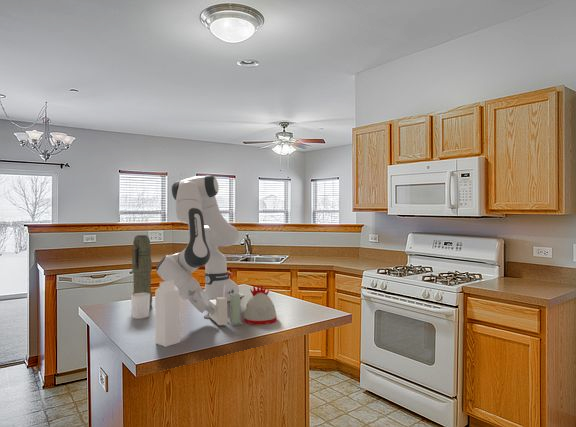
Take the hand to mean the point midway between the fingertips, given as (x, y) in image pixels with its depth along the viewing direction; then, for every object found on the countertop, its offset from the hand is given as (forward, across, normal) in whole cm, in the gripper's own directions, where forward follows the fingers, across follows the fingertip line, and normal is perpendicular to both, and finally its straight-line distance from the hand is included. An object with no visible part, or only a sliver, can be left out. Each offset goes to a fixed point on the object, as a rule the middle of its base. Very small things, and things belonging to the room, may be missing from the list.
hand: (213, 312), depth 166 cm
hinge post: (+3, +14, +4) cm, 15 cm away
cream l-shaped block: (+4, +4, +2) cm, 6 cm away
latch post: (+10, +1, -2) cm, 10 cm away
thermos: (-20, +39, +28) cm, 52 cm away
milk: (-7, -18, +16) cm, 25 cm away
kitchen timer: (+18, +4, -10) cm, 21 cm away
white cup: (-18, +21, +27) cm, 39 cm away
